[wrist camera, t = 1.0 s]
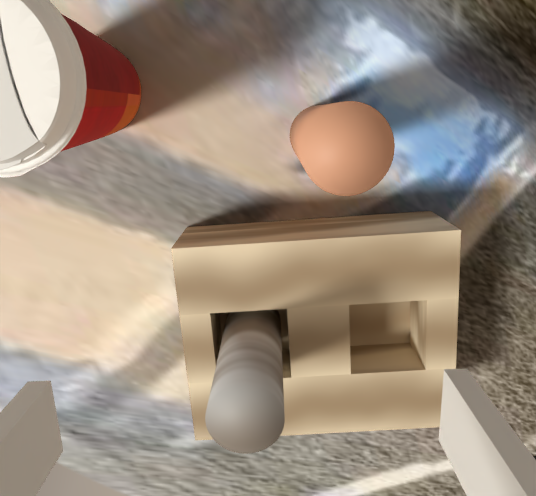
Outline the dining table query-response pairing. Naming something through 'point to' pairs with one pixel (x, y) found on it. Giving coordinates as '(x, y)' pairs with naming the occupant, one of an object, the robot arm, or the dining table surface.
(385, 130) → the dowel
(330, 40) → the dining table surface
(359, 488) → the dining table surface
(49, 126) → the coffee cup
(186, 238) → the bore block
